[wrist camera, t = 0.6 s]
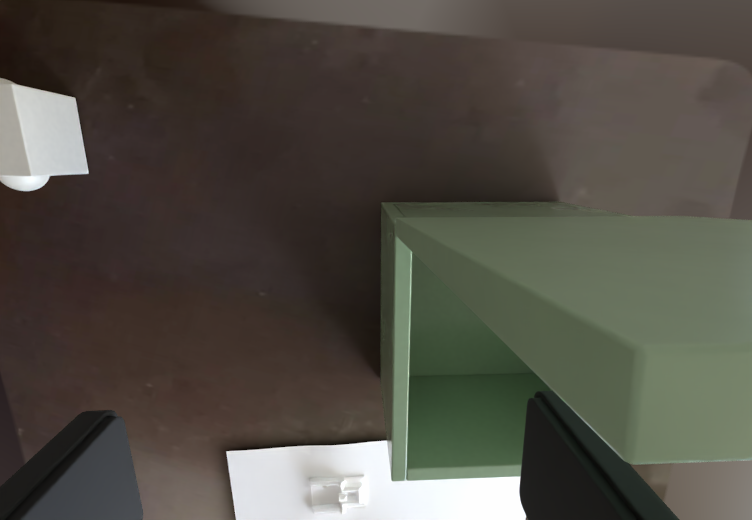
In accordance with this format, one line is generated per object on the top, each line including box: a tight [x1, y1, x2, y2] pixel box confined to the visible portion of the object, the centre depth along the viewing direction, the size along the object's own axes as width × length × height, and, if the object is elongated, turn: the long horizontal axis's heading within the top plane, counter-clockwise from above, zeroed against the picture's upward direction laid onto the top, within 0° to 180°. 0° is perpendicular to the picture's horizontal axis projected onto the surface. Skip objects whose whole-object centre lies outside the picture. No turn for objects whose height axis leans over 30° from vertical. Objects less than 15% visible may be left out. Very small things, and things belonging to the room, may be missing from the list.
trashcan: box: [380, 202, 630, 481], centre depth 24 cm, size 14×13×10 cm
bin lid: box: [396, 216, 752, 465], centre depth 10 cm, size 14×13×1 cm
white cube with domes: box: [0, 78, 89, 191], centre depth 22 cm, size 6×5×5 cm
